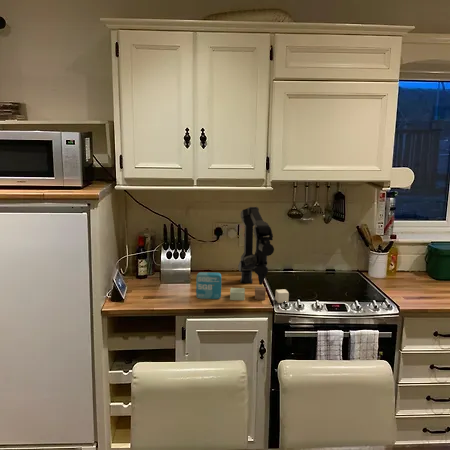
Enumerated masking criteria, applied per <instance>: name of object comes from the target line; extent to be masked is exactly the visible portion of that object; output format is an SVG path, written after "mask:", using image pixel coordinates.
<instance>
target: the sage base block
mask: <svg viewBox="0 0 450 450" xmlns="http://www.w3.org/2000/svg"><path fill="white" fill-rule="evenodd" d="M245 289H246V288H245V287H230V291H229V292H230V293H229V301H245V300H246V299H245V298H246V297H245V295H246V294H245V293H246V290H245Z"/></svg>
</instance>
